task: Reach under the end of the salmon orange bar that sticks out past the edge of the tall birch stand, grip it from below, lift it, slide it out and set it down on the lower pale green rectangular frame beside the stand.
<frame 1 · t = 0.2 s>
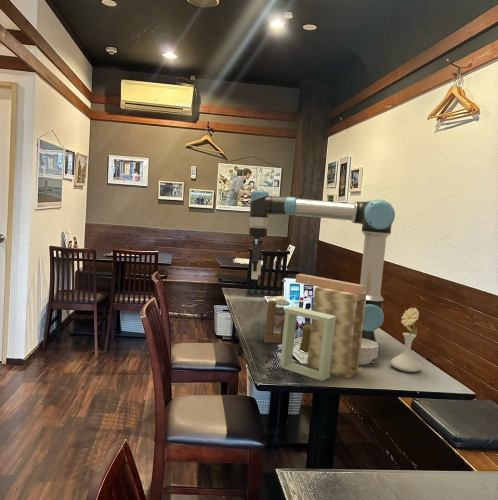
hand: (256, 277, 193), 28 cm above the table, tool pointing down, fingers open, 13 cm apart
pale green rectangular frame: (304, 371, 162), on the table
cork: (306, 351, 187), on the table
salmon orange bar: (328, 287, 167), point 30 cm above the table, touching birch stand
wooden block: (276, 342, 195), on the table
birch stand: (332, 369, 167), on the table
paper bowls: (356, 361, 180), on the table
flower in vase: (405, 370, 174), on the table
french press: (279, 331, 213), on the table
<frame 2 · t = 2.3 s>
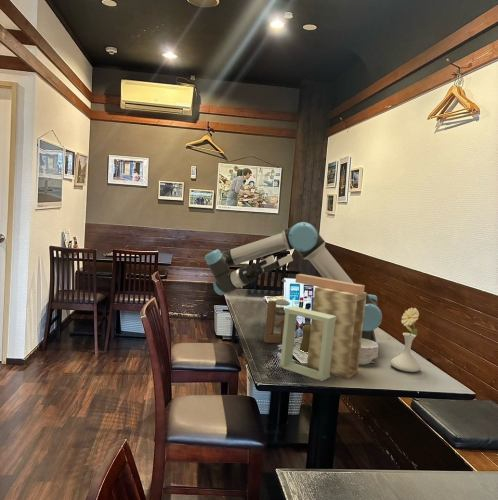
hand: (283, 257, 180), 38 cm above the table, tool pointing upward, fingers open, 13 cm apart
nothing on the table moved.
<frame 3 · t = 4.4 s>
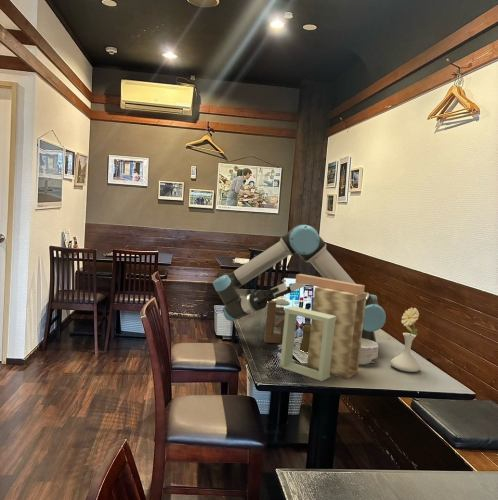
hand: (295, 284, 175), 29 cm above the table, tool pointing upward, fingers open, 13 cm apart
nothing on the table moved.
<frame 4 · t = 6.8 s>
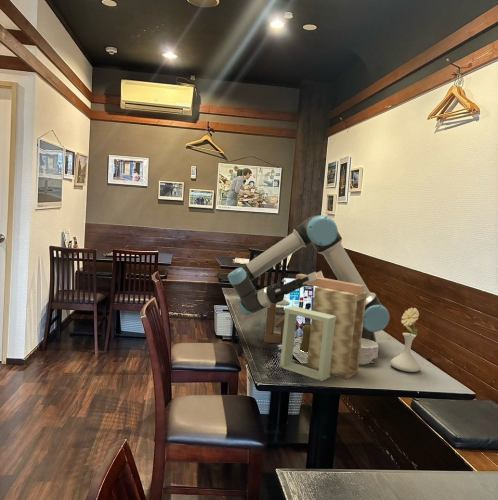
hand: (319, 274, 169), 34 cm above the table, tool pointing upward, fingers closed on salmon orange bar, 4 cm apart
salmon orange bar: (328, 287, 167), point 30 cm above the table, touching birch stand, gripper
everything else where it was.
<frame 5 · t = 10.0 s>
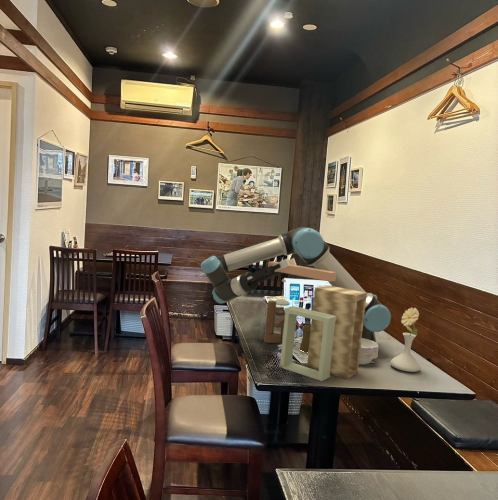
hand: (291, 261, 166), 38 cm above the table, tool pointing upward, fingers closed on salmon orange bar, 4 cm apart
salmon orange bar: (300, 275, 164), point 34 cm above the table, touching gripper
everything else where it was.
when the fingers open (27 cm above the table, at t = 13.2 s): salmon orange bar stays where it is, resting on pale green rectangular frame.
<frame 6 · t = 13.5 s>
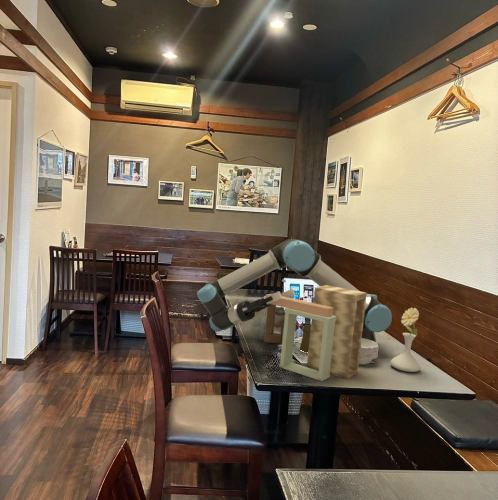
hand: (287, 293, 166), 27 cm above the table, tool pointing upward, fingers open, 9 cm apart
salmon orange bar: (297, 309, 163), point 22 cm above the table, touching pale green rectangular frame
everything else where it was.
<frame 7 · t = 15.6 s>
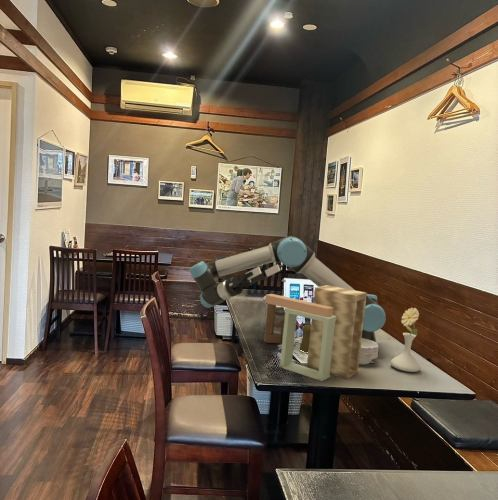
hand: (269, 268, 176), 34 cm above the table, tool pointing upward, fingers open, 13 cm apart
nothing on the table moved.
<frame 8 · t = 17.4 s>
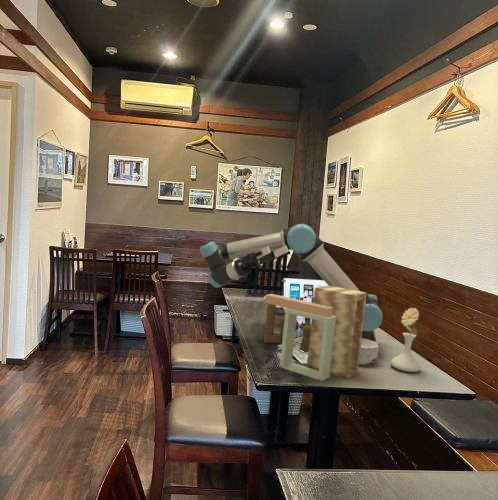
hand: (278, 248, 179), 42 cm above the table, tool pointing upward, fingers open, 13 cm apart
nothing on the table moved.
at the end: salmon orange bar inside the target area on the pale green rectangular frame (0.2 cm from its centre), point 22.0 cm above the pale green rectangular frame's base; salmon orange bar tilted 0°; the gripper is holding nothing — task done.
